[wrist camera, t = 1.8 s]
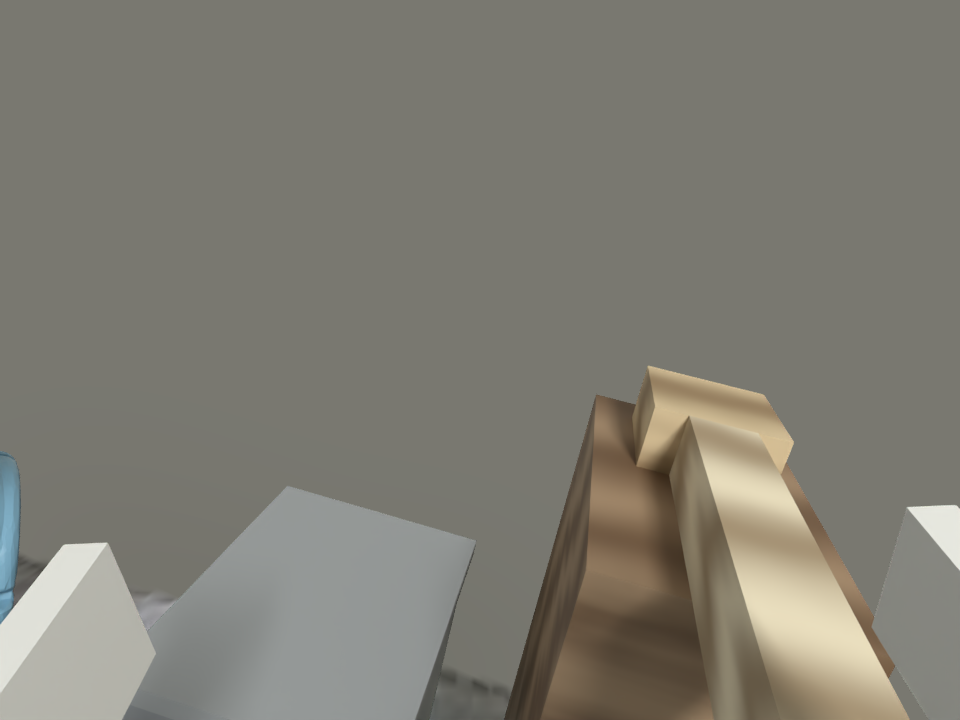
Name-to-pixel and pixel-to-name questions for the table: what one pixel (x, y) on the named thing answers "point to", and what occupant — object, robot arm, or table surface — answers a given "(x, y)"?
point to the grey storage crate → (310, 620)
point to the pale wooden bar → (754, 561)
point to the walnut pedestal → (629, 594)
